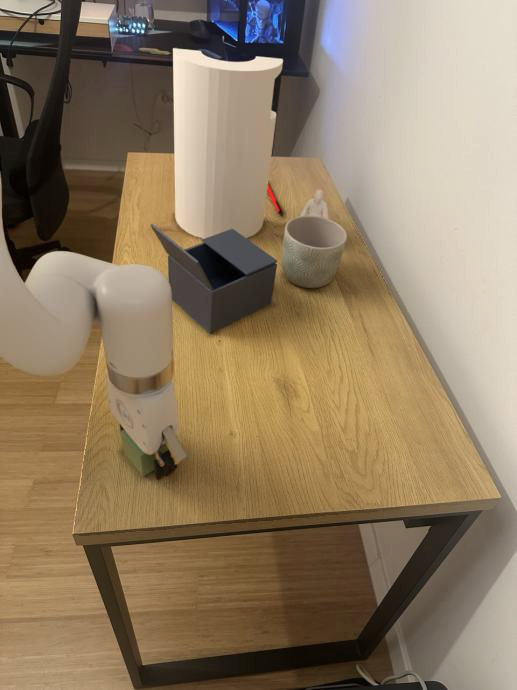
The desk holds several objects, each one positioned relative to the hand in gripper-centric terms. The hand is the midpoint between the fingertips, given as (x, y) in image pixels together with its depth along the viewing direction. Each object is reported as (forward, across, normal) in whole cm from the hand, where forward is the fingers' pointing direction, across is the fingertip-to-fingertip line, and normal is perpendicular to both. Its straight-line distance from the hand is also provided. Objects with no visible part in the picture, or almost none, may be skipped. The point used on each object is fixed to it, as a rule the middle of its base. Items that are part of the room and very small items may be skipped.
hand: (148, 450), depth 70 cm
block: (+1, 0, 0) cm, 1 cm away
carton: (+1, -21, +30) cm, 37 cm away
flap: (-13, -21, +21) cm, 32 cm away
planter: (+1, -18, +50) cm, 53 cm away
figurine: (+1, -26, +60) cm, 65 cm away
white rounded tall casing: (+1, -42, +46) cm, 63 cm away
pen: (+1, -47, +67) cm, 82 cm away
